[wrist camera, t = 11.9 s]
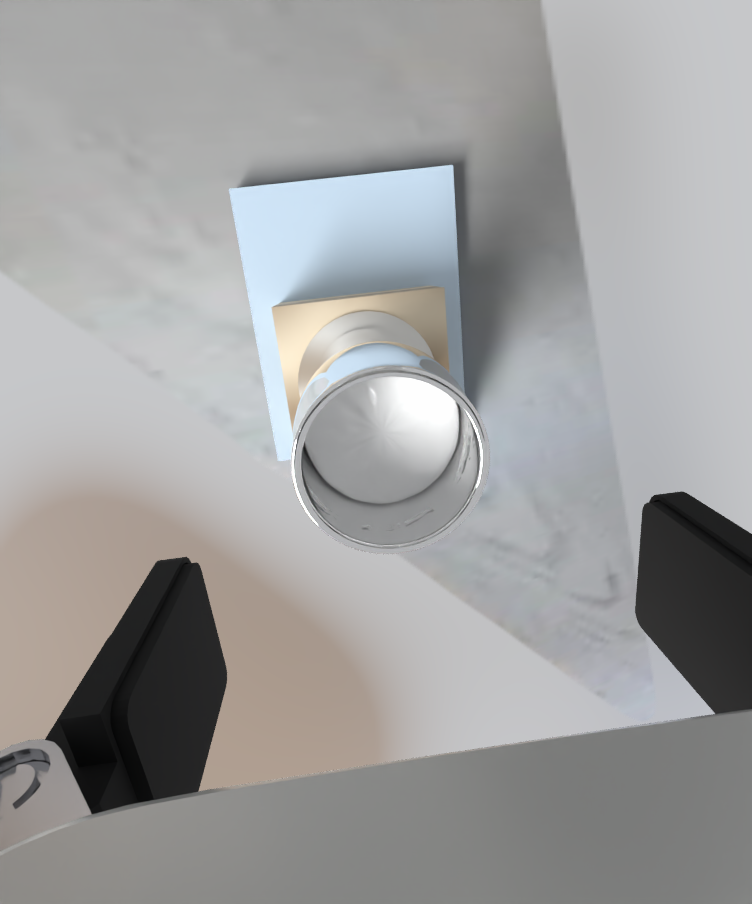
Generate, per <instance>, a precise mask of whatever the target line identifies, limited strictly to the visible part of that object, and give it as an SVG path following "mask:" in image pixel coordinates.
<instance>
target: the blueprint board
mask: <svg viewBox="0 0 752 904" xmlns="http://www.w3.org/2000/svg"><path fill="white" fill-rule="evenodd" d="M229 193H230V198H231V204H232V209H233V215H234V220H235V226H236V231H237V237H238V242H239V248H240V253H241V259H242V264H243V270H244V275H245V281H246V286H247V292H248V297H249V303H250V308H251V314H252V319H253V325H254V330H255V336H256V341H257V347H258V352H259V358H260V363H261V369H262V374H263V380H264V385H265V391H266V396H267V402H268V407H269V413H270V418H271V424H272V429H273V435H274V440H275V446H276V451H277V457H278V461H284V460H291V450H292V440H293V432H292V426H291V420H290V414H289V408H288V402H287V397H286V391H285V385H284V379H283V373H282V367H281V361H280V355H279V349H278V343H277V337H276V331H275V325H274V319H273V314H272V308H271V307H273V306H275V305H277V304H279V303H282V302H290V301H299V300H308V299H316V298H325V297H334V296H342V295H351V294H360V293H368V292H377V291H386V290H395V289H403V288H412V287H421V286H429V285H430V286H438V287H444V288H445V305H446V322H447V338H448V355H449V372H450V374H451V376H452V377H453V378H454V379H455V380H456V381H457V383H458V384H459V386H460V387H461V388H462V390H463V392H464V393H465V390H464V370H463V350H462V330H461V310H460V291H459V271H458V251H457V231H456V211H455V192H454V172H453V165H447V166H437V167H428V168H419V169H409V170H400V171H391V172H381V173H372V174H363V175H353V176H344V177H335V178H325V179H316V180H307V181H297V182H288V183H279V184H269V185H260V186H251V187H241V188H232V189H229Z"/></svg>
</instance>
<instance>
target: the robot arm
mask: <svg viewBox="0 0 752 904" xmlns="http://www.w3.org/2000/svg"><path fill="white" fill-rule="evenodd" d="M635 613H636V617H637V620H638V623H639V625H640V626H641V628H642V629H643V630H644V631H645V633H646V634H647V635H648V636H649V637H650V638H651V639H652V641H653V642H654V643H655V644H656V645H657V646H658V648H659V649H660V650H661V651H662V652H663V653H664V655H665V656H666V657H667V658H668V659H669V660H670V662H671V663H672V664H673V665H674V666H675V667H676V669H677V670H678V671H679V672H680V673H681V674H682V675H683V677H684V678H685V679H686V680H687V681H688V682H689V684H690V685H691V686H692V687H693V688H694V689H695V690H696V692H697V693H698V694H699V695H700V696H701V698H702V699H703V700H704V701H705V702H706V703H707V704H708V706H709V707H710V708H711V709H712V710H713V711H714V712H715V714H713V715H705V716H699V717H691V718H685V719H678V720H670V721H664V722H656V723H649V724H642V725H635V726H628V727H622V728H614V729H608V730H600V731H594V732H587V733H580V734H573V735H566V736H560V737H552V738H546V739H539V740H532V741H526V742H519V743H512V744H505V745H499V746H492V747H485V748H478V749H472V750H465V751H458V752H451V753H445V754H438V755H431V756H425V757H418V758H411V759H405V760H398V761H392V762H386V763H379V764H373V765H366V766H359V767H354V768H347V769H340V770H333V771H327V772H320V773H314V774H307V775H302V776H294V777H288V778H282V779H275V780H268V781H262V782H255V783H249V784H242V785H236V786H230V787H222V788H216V789H210V790H205V791H199V792H198V790H199V787H200V783H201V779H202V775H203V772H204V768H205V764H206V760H207V757H208V753H209V749H210V745H211V742H212V737H213V734H214V730H215V726H216V723H217V719H218V714H219V711H220V707H221V703H222V700H223V696H224V692H225V688H226V683H227V670H226V665H225V661H224V657H223V653H222V649H221V646H220V641H219V637H218V633H217V630H216V626H215V622H214V618H213V614H212V610H211V606H210V602H209V599H208V594H207V590H206V587H205V583H204V579H203V575H202V571H201V568H200V565H199V564H198V563H191V562H190V560H189V558H187V557H182V558H176V559H167V560H160V561H157V562H156V563H155V565H154V567H153V568H152V570H151V571H150V573H149V575H148V576H147V578H146V580H145V581H144V583H143V584H142V586H141V588H140V589H139V591H138V592H137V594H136V596H135V597H134V599H133V600H132V602H131V604H130V605H129V607H128V609H127V610H126V612H125V614H124V615H123V617H122V618H121V620H120V621H119V623H118V625H117V626H116V628H115V630H114V631H113V633H112V634H111V635H110V637H109V638H108V639H107V641H106V642H105V644H104V646H103V647H102V649H101V651H100V652H99V654H98V655H97V657H96V659H95V660H94V662H93V663H92V665H91V667H90V668H89V670H88V671H87V673H86V675H85V676H84V678H83V679H82V681H81V683H80V684H79V686H78V687H77V689H76V691H75V692H74V694H73V695H72V697H71V699H70V700H69V702H68V703H67V705H66V707H65V708H64V710H63V712H62V713H61V715H60V716H59V718H58V719H57V721H56V723H55V724H54V726H53V728H52V729H51V731H50V732H49V734H48V736H47V737H46V739H45V740H44V739H42V740H28V741H25V742H22V743H18V744H15V745H11V746H10V747H7V748H5V749H3V750H1V751H0V904H752V534H751V533H749V532H748V531H746V530H744V529H743V528H741V527H739V526H738V525H737V524H735V523H733V522H732V521H730V520H729V519H727V518H725V517H724V516H722V515H721V514H719V513H717V512H715V511H714V510H713V509H711V508H709V507H708V506H706V505H705V504H703V503H701V502H700V501H698V500H697V499H695V498H694V497H692V496H690V495H689V494H687V493H685V492H675V493H667V494H659V495H654V496H653V497H652V498H651V500H650V502H649V503H646V504H645V505H644V507H643V511H642V524H641V538H640V551H639V565H638V579H637V593H636V606H635Z"/></svg>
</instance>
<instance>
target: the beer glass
mask: <svg viewBox="0 0 752 904" xmlns="http://www.w3.org/2000/svg"><path fill="white" fill-rule="evenodd" d="M489 465H490V449H489V441H488V437H487V433H486V429H485V427H484V424H483V422H482V419H481V417H480V415H479V414H478V412H477V410H476V409H475V407H474V406H473V404H472V403H471V402H470V400H469V399H468V398H467V396H466V395H465V393H464V392H463V390H462V388H461V387H460V386H459V384H458V383H457V381H456V380H455V379H454V378H453V377H452V376H451V374H450V373H449V372H448V371H447V370H446V369H445V368H444V367H443V366H442V365H441V364H440V363H439V362H437V361H436V360H435V359H433V358H432V357H431V356H429V355H428V354H426V353H425V352H423V351H421V350H419V349H418V348H415V347H413V346H411V345H408V344H405V343H404V342H403V341H402V340H401V339H400V338H398V337H397V336H396V335H394V334H392V333H390V332H388V331H385V330H382V329H377V328H360V329H356V330H352V331H350V332H347V333H345V334H343V335H342V336H340V337H339V338H337V339H336V340H335V341H334V342H333V343H332V344H331V345H330V346H329V347H328V348H327V350H326V351H325V353H324V355H323V357H322V359H321V361H320V364H319V367H318V368H317V370H316V371H315V372H314V373H313V375H312V376H311V378H310V379H309V381H308V383H307V385H306V387H305V389H304V391H303V393H302V395H301V397H300V400H299V403H298V406H297V410H296V415H295V420H294V426H293V440H292V450H291V475H292V481H293V485H294V489H295V491H296V494H297V497H298V499H299V501H300V503H301V505H302V507H303V509H304V510H305V512H306V513H307V515H308V516H309V517H310V519H311V520H312V521H313V522H314V523H315V524H316V525H317V526H318V527H319V528H320V529H321V530H322V531H323V532H324V533H326V534H327V535H328V536H330V537H331V538H333V539H335V540H336V541H338V542H340V543H342V544H344V545H346V546H349V547H351V548H354V549H357V550H360V551H364V552H369V553H377V554H398V553H405V552H410V551H414V550H418V549H421V548H424V547H426V546H429V545H431V544H433V543H435V542H437V541H439V540H441V539H442V538H444V537H446V536H447V535H448V534H450V533H451V532H452V531H454V530H455V529H456V528H457V527H458V526H459V525H461V524H462V523H463V521H464V520H465V519H466V518H467V517H468V516H469V515H470V513H471V512H472V511H473V509H474V508H475V506H476V504H477V503H478V501H479V499H480V497H481V495H482V493H483V490H484V488H485V485H486V481H487V477H488V473H489Z"/></svg>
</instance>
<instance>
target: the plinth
mask: <svg viewBox="0 0 752 904" xmlns="http://www.w3.org/2000/svg"><path fill="white" fill-rule="evenodd" d="M271 308H272V314H273V319H274V325H275V331H276V337H277V343H278V349H279V355H280V361H281V367H282V373H283V379H284V385H285V391H286V397H287V402H288V408H289V414H290V420H291V426H292V432H293V426H294V420H295V415H296V410H297V406H298V403H299V400H300V397H301V395H302V393H303V391H304V389H305V387H306V385H307V383H308V381H309V379H310V378H311V376H312V375H313V373H314V372H315V371H316V370H317V368H318V367H319V364H320V361H321V359H322V357H323V355H324V353H325V351H326V350H327V348H328V347H329V346H330V345H331V344H332V343H333V342H334V341H335V340H336V339H337V338H339V337H340V336H342V335H343V334H345V333H347V332H350V331H352V330H356V329H360V328H377V329H382V330H385V331H388V332H390V333H392V334H394V335H396V336H397V337H398V338H400V339H401V340H402V341H403V342H404V343H405V344H408V345H411V346H413V347H415V348H418V349H419V350H421V351H423V352H425V353H426V354H428V355H429V356H431V357H432V358H433V359H435V360H436V361H437V362H439V363H440V364H441V365H442V366H443V367H444V368H445V369H446V370H447V371H448V372H449V355H448V338H447V322H446V305H445V288H444V287H438V286H430V285H429V286H421V287H412V288H403V289H395V290H386V291H377V292H368V293H360V294H351V295H342V296H334V297H325V298H316V299H308V300H299V301H290V302H282V303H279V304H277V305H275V306H273V307H271ZM449 373H450V372H449Z"/></svg>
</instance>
